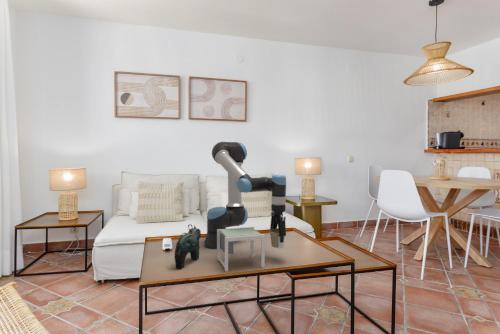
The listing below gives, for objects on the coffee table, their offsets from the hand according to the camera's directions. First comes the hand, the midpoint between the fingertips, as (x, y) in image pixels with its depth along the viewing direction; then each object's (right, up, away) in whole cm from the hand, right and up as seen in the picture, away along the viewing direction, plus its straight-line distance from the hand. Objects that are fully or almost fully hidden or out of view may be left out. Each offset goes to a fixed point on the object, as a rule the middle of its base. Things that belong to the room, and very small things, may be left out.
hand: (277, 245), depth 170 cm
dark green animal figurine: (-47, -8, -6) cm, 48 cm away
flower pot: (0, -1, 0) cm, 1 cm away
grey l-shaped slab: (-20, -1, -6) cm, 21 cm away
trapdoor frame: (-20, -8, -6) cm, 22 cm away
